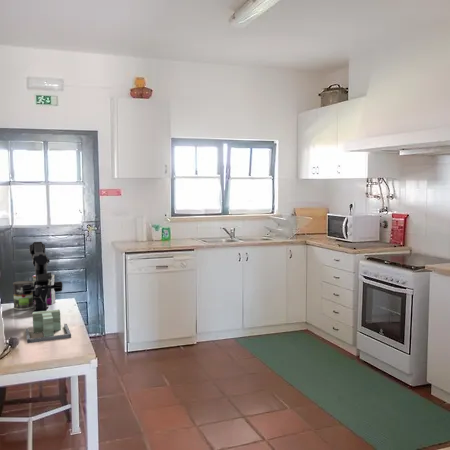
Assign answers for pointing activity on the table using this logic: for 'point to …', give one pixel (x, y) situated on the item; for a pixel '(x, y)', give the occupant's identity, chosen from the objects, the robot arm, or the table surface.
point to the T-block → (46, 322)
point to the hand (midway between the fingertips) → (44, 302)
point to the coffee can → (22, 296)
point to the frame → (48, 336)
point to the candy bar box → (52, 294)
